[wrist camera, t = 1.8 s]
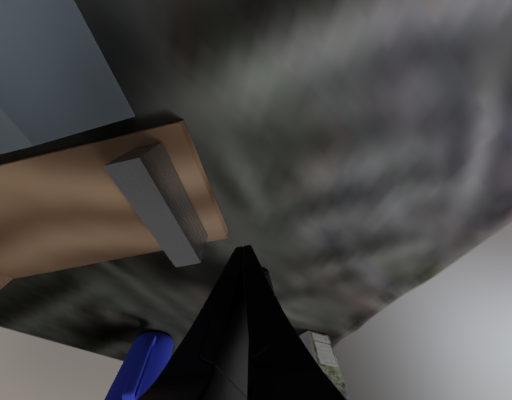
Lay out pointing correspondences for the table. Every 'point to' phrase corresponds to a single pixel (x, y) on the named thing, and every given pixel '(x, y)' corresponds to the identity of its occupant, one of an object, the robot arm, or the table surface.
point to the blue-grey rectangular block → (52, 75)
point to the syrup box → (324, 357)
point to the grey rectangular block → (160, 201)
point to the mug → (141, 366)
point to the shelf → (89, 204)
